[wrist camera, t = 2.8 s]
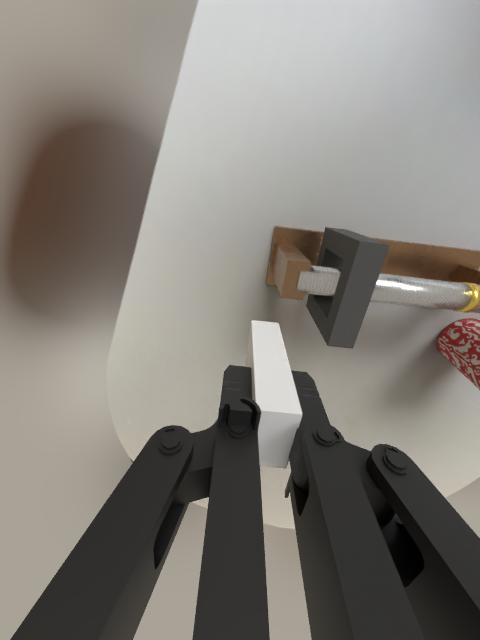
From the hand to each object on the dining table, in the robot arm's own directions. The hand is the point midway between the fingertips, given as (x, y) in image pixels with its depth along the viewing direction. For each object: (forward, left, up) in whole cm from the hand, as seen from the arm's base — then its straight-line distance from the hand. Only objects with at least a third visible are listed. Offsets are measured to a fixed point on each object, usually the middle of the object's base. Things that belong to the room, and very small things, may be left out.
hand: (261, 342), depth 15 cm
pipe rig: (0, +17, -24) cm, 29 cm away
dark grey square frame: (0, +9, -19) cm, 21 cm away
